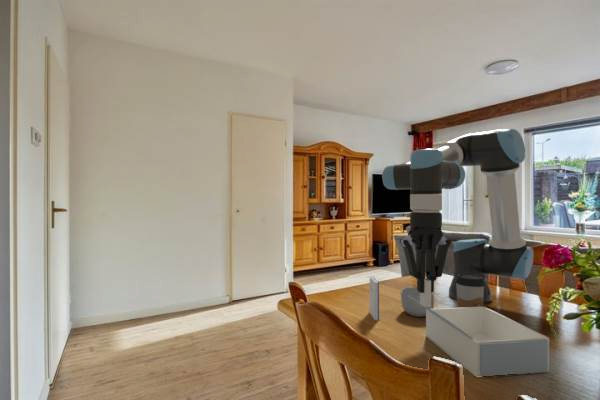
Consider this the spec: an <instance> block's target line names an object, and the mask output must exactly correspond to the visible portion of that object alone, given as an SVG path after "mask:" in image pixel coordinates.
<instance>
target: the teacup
mask: <svg viewBox="0 0 600 400" xmlns="http://www.w3.org/2000/svg"><path fill="white" fill-rule="evenodd" d="M434 294H435V292H431V307H428V308H429V309H434V308H435V305H434V303H435V302H434V300H435V299H434V297H435V296H434ZM408 295H409V296H411V297H413V298H414V299H416V300H417V301H419V302H420V292H418V291H417V286H413V285H412V286H411V285H409V286H407V287H405V288H402V289H400V297H401V299H400V302H401V307H402V309H403V310H404V311H405V312H406V313H407V314H408V315H409V316H413V317H426V309H425V308H424V307H422V306H421V305H420V304H418V303H417V302H415V301H414V300H413V299H411V298H410V297H408Z"/></svg>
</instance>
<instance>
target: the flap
mask: <svg viewBox="0 0 600 400" xmlns="http://www.w3.org/2000/svg"><path fill="white" fill-rule="evenodd" d="M408 297H410V298H411V299H413V300H414V301H415V302H417V303H418V304H420V302H419V301H417V300H416V299H414V298H413V297H411V296H409V295H408ZM420 305H421V304H420ZM421 306H422V307H424V306H423V305H421ZM424 308H425V309H427V310H428V311H430V312H431V313H433V314H434V315H436V316H437V317H439V318H440V319H442V320H443V321H445V322H446V323H448V324H449V325H451V326H452V327H454V328H455V329H457V330H458V331H460V332H461V333H463V334H464V335H466V336H467V337H469V338H470V339H473V338H472V337H470V336H469V335H468V334H466V333H465V332H463V331H462V330H461V329H459V328H458V327H456V326H455V325H454V324H452V323H451V322H449V321H448V320H446V319H445V318H443V317H442V316H440V315H439V314H437V313H436V312H434V311H433V310H431V309H429V308H428V307H424Z"/></svg>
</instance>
